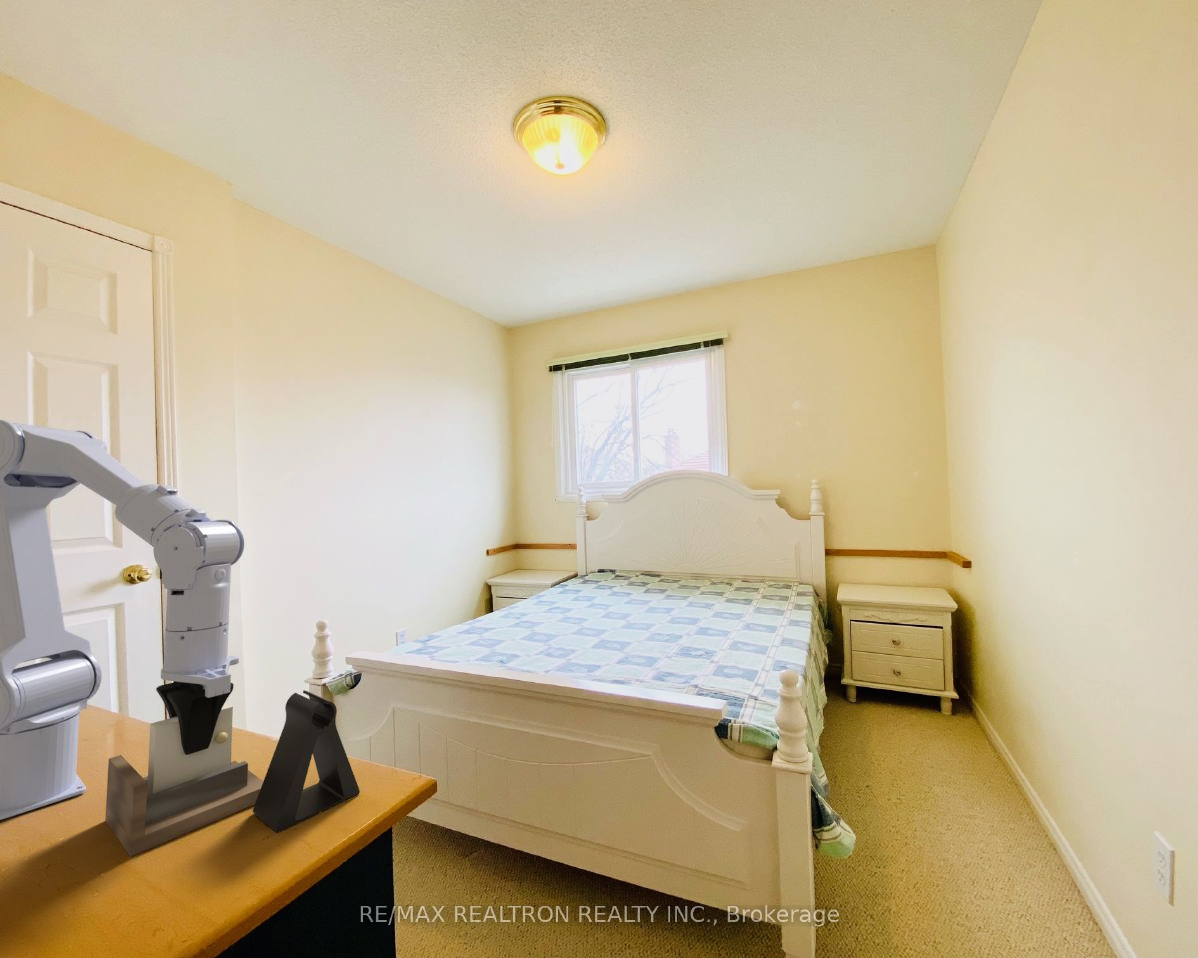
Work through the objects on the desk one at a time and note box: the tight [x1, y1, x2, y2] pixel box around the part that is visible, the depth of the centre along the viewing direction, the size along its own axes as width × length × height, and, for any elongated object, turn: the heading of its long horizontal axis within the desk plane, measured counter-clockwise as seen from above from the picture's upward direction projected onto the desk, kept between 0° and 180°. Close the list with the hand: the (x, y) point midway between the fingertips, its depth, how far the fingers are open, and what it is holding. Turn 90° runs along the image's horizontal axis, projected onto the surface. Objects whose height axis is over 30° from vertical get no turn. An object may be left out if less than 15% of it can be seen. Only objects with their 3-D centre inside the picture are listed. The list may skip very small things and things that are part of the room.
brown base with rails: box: [105, 754, 264, 858], centre depth 56 cm, size 10×12×6 cm
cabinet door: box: [147, 702, 234, 796], centre depth 56 cm, size 3×7×8 cm, turn 145°
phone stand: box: [252, 690, 361, 834], centre depth 58 cm, size 9×6×12 cm, turn 144°
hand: (192, 747), depth 57 cm, fingers closed on cabinet door, 2 cm apart
